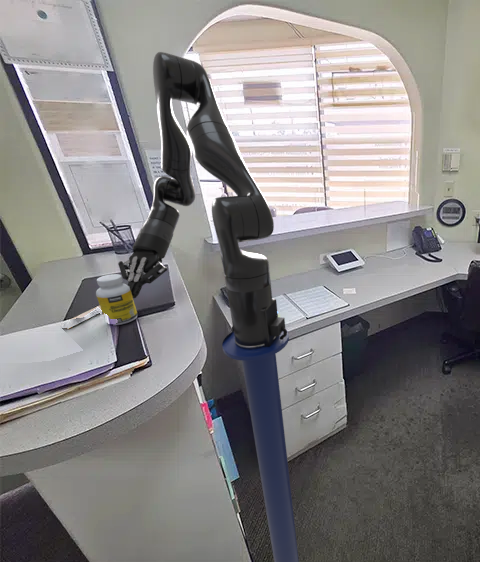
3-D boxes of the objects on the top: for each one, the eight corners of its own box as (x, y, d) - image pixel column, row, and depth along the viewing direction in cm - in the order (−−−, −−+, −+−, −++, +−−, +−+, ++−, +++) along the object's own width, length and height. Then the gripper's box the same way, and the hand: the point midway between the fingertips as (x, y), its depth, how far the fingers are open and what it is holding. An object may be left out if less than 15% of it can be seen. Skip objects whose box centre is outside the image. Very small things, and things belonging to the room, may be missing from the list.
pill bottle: (107, 329, 74) (91, 285, 70) (105, 319, 78) (90, 276, 74) (140, 320, 78) (127, 278, 74) (136, 311, 83) (124, 270, 78)
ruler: (131, 297, 90) (131, 295, 90) (69, 329, 74) (68, 326, 73) (122, 297, 90) (121, 294, 90) (58, 328, 74) (56, 325, 74)
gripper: (185, 246, 89) (163, 303, 83) (142, 244, 91) (118, 299, 84) (167, 233, 82) (142, 293, 76) (122, 230, 84) (93, 289, 77)
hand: (129, 296), depth 80 cm, fingers closed
